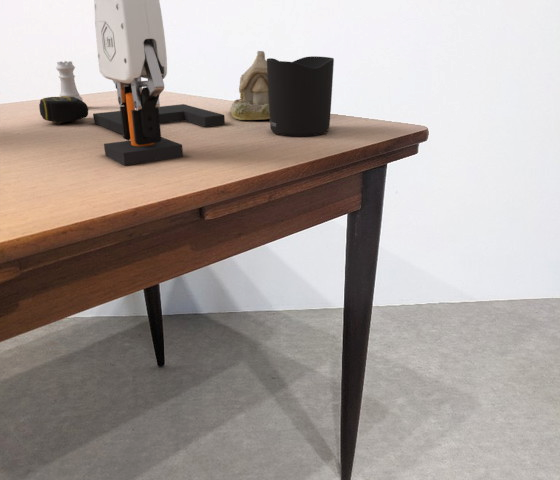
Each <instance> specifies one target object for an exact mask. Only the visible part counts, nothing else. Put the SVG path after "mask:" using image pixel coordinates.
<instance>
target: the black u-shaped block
mask: <svg viewBox="0 0 560 480" xmlns="http://www.w3.org/2000/svg"><path fill="white" fill-rule="evenodd" d="M92 117H93V123H94V124H95V125H98V126H100V127H103V128H105V129H106V130H107V129H108V130H110V131H112V132H115V133H118V134H120V135H122V136H123V130H122V121H121V113H120V110H115V111H105V112H94V113H93V114H92ZM159 119H160V125H161V124H168V123H178V122H187V123H191V124H195V125H198V126H200V127H204V128H209V127H210V128H211V127H216V126H224V125H225V124H226V122H225V119H226V118H225V114H223V113H222V114H221V113H219V112H215V111H212V110H207V109H203V108H199V107H196V106H193V105H187V104H184V103H182V104H171V105H162V106H161V105H160V107H159Z"/></svg>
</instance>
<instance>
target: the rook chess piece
mask: <svg viewBox="0 0 560 480" xmlns="http://www.w3.org/2000/svg"><path fill="white" fill-rule="evenodd" d="M56 63H57V65H56V67H55V69H56V70H57V71H58V73H59V75H58V78H59V81H60V94H59V97H75V98H77V99H79V100H81V101H83V97H82V96H81V95H80V93H79V90H78V89H77V85H76V82H75V78H76V75H75V74H74V70H75V69H76V67H75V65H74V63H73V61H71V60H70V61H67V60H65V61H57V62H56ZM83 102H84V101H83Z"/></svg>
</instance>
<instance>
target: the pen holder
mask: <svg viewBox="0 0 560 480" xmlns="http://www.w3.org/2000/svg"><path fill="white" fill-rule="evenodd" d="M266 61H267V77H268V96H269V112H270V119H269V125H270V130H271V131H272V133H274V134H276V135H278V136H279V135H280V136H285V137H286V136H288V137H313V136H320V135H324V134H326V133H328V131H329V130H330V125H331V124H330V123H331V113H332V112H331V111H332V98H333V97H332V96H333V81H334V80H333V79H334V64H335V58H333V57H330V56H316V55H315V56H314V55H313V56H305V57H300V58H298V59H296V60H294V61H286V60H278V59H276V58H267V59H266Z"/></svg>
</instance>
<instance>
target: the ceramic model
mask: <svg viewBox="0 0 560 480" xmlns="http://www.w3.org/2000/svg"><path fill="white" fill-rule="evenodd" d="M256 54H257V55H256V57H255V59H254V61H253V63H252V64H251V66H249V68H247V70H246V71H245V72H244V73H243V74H241V76H240V78H239V85H238V86H239V87H238V92H239V95H240V96H239V99H238V98H237V99H235V100H234V101H233V103H232V104H231V106H230V107H229V109H230V113H231V116H232V118H234V119H236V120H240V121H256V120H257V121H259V120H270V112H269V96H268V77H267V59H266V52H265V51H264V50H258V51H256Z"/></svg>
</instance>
